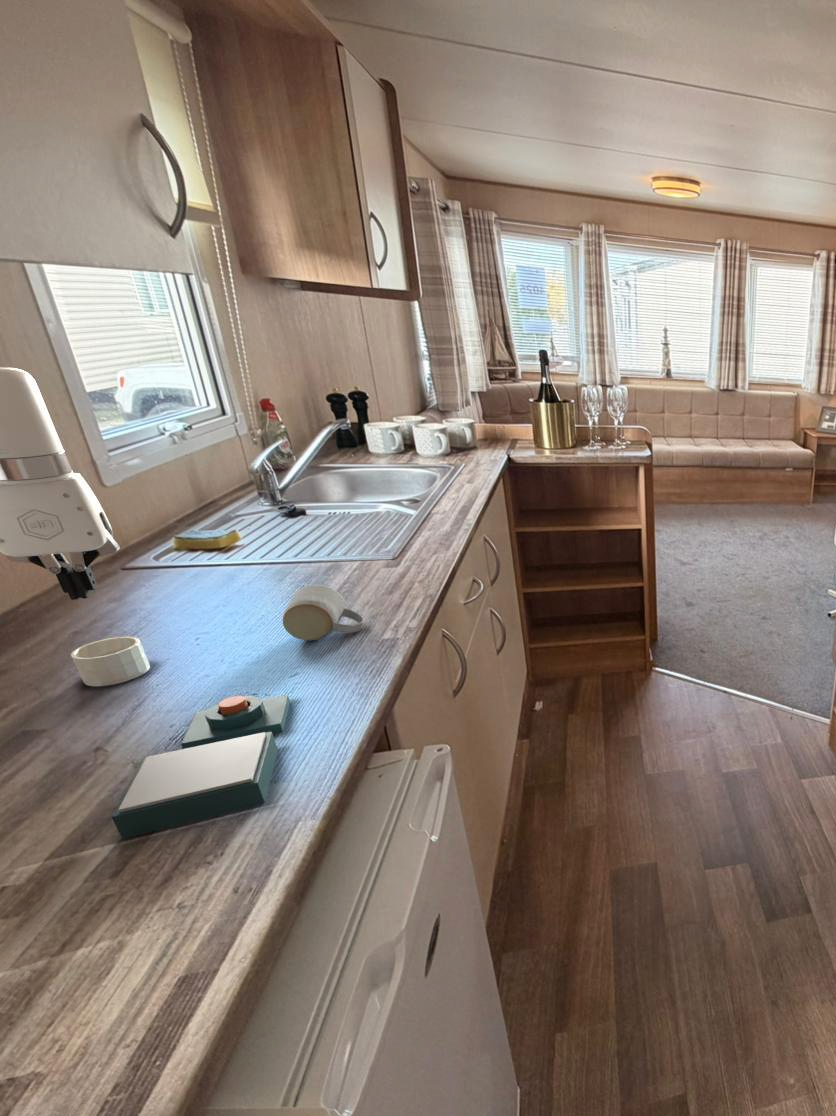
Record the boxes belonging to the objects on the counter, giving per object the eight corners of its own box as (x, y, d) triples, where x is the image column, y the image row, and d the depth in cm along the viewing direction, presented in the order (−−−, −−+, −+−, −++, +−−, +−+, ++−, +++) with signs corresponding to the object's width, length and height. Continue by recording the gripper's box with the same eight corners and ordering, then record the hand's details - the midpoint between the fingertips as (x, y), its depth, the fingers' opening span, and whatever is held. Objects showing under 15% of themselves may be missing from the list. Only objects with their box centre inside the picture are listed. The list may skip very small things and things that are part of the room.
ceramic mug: (285, 646, 106) (273, 604, 103) (299, 625, 113) (288, 585, 110) (360, 638, 110) (351, 597, 107) (369, 619, 117) (360, 580, 114)
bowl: (75, 690, 92) (62, 663, 90) (93, 668, 97) (81, 642, 95) (142, 679, 95) (130, 652, 93) (156, 659, 100) (145, 633, 99)
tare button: (219, 717, 83) (215, 709, 82) (223, 707, 85) (220, 698, 85) (246, 712, 84) (243, 703, 84) (250, 702, 87) (247, 693, 86)
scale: (121, 839, 67) (109, 814, 66) (152, 778, 76) (142, 755, 74) (265, 803, 73) (256, 779, 72) (278, 750, 82) (270, 728, 80)
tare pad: (184, 753, 80) (176, 733, 79) (199, 720, 87) (192, 701, 85) (283, 732, 85) (276, 713, 84) (290, 702, 91) (284, 684, 90)
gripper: (-76, 477, 77) (-6, 614, 84) (96, 469, 84) (146, 597, 91) (-42, 465, 83) (20, 594, 90) (116, 458, 90) (162, 579, 97)
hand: (83, 595), depth 91 cm, fingers closed
